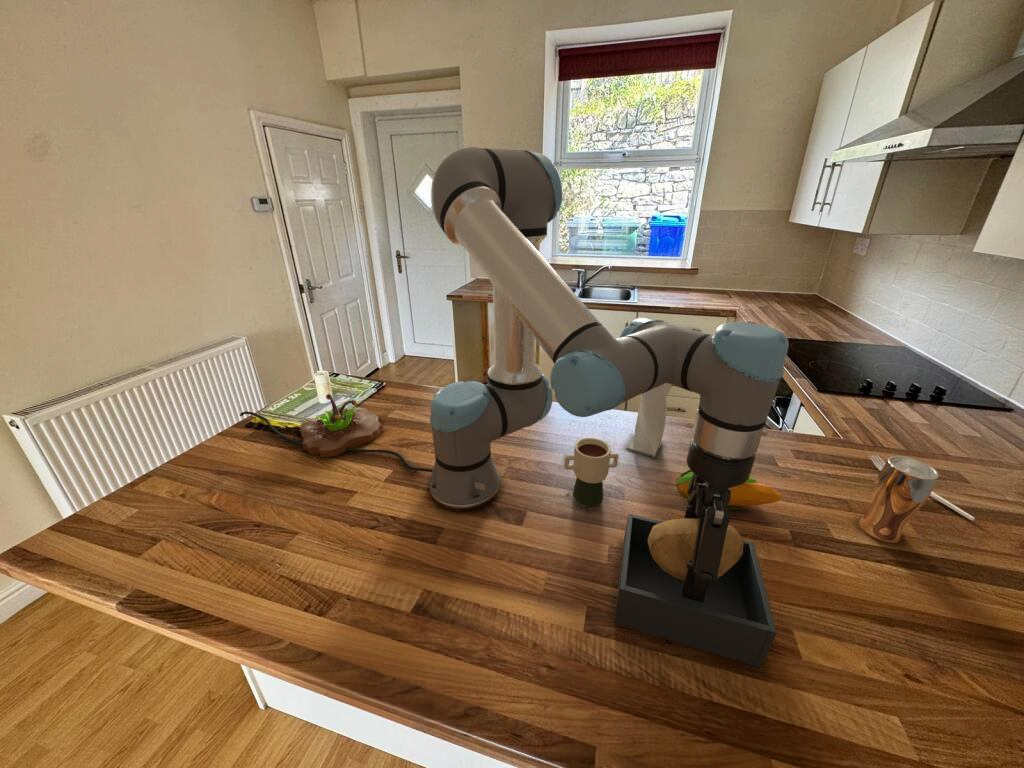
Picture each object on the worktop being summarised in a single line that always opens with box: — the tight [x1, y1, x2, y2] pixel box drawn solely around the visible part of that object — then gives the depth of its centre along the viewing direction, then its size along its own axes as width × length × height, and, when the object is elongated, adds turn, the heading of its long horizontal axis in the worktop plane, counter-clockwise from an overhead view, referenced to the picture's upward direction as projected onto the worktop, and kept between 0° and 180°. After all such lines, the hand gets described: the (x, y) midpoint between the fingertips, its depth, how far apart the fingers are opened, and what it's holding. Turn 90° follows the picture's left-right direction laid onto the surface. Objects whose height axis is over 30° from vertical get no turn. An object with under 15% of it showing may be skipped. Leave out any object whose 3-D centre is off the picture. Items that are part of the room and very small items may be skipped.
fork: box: [869, 453, 976, 522], centre depth 86 cm, size 3×20×2 cm, turn 12°
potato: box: [648, 517, 744, 582], centre depth 59 cm, size 10×14×8 cm
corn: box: [675, 469, 783, 510], centre depth 82 cm, size 7×8×20 cm
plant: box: [299, 393, 384, 458], centre depth 105 cm, size 20×20×11 cm
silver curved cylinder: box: [858, 455, 940, 544], centre depth 73 cm, size 7×7×15 cm
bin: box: [613, 513, 777, 669], centre depth 62 cm, size 20×16×8 cm
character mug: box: [563, 437, 619, 508], centre depth 82 cm, size 11×7×13 cm, turn 94°
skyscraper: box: [625, 383, 673, 459], centre depth 95 cm, size 8×8×28 cm
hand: (690, 567), depth 61 cm, fingers closed on potato, 10 cm apart
